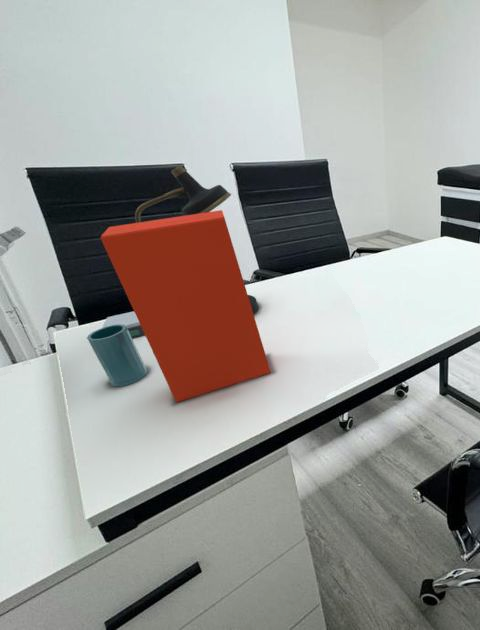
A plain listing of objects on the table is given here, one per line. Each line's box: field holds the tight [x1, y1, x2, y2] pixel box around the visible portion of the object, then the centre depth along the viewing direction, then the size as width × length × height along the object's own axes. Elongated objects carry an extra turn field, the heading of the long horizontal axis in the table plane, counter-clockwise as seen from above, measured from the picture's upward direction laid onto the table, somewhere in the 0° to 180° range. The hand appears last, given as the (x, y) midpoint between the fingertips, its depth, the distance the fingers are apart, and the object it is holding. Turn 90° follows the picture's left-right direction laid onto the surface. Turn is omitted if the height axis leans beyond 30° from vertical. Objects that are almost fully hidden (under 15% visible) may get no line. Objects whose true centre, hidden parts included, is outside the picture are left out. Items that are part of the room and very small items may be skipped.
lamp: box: [134, 165, 260, 316], centre depth 97 cm, size 16×22×38 cm
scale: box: [101, 310, 145, 339], centre depth 101 cm, size 12×11×4 cm
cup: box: [86, 324, 148, 387], centre depth 79 cm, size 6×6×11 cm
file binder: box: [100, 209, 272, 403], centre depth 72 cm, size 8×17×32 cm, turn 118°
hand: (12, 237), depth 68 cm, fingers open, 8 cm apart
